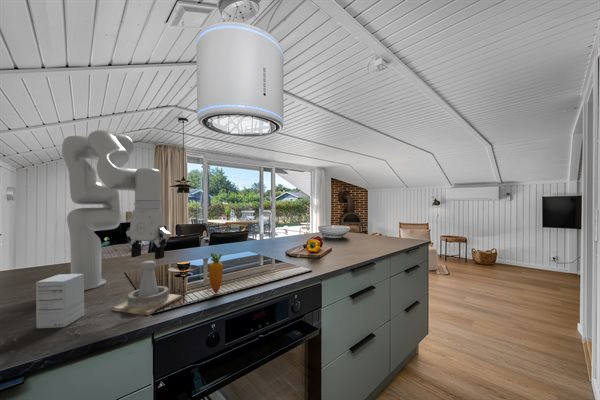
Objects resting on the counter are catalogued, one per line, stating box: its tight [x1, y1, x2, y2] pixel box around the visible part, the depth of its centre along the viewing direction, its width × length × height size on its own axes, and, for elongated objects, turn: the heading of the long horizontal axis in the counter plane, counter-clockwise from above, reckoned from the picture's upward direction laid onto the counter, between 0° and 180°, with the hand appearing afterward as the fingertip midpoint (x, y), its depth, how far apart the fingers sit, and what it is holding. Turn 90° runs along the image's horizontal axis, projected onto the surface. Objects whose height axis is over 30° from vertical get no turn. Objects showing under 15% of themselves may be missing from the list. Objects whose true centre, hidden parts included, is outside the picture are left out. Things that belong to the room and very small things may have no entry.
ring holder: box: [111, 285, 183, 316], centre depth 84 cm, size 14×14×4 cm
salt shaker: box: [138, 260, 158, 297], centre depth 84 cm, size 6×6×13 cm
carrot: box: [208, 252, 224, 294], centre depth 93 cm, size 5×5×15 cm
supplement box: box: [35, 273, 85, 329], centre depth 72 cm, size 7×7×13 cm
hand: (147, 257), depth 85 cm, fingers open, 9 cm apart
